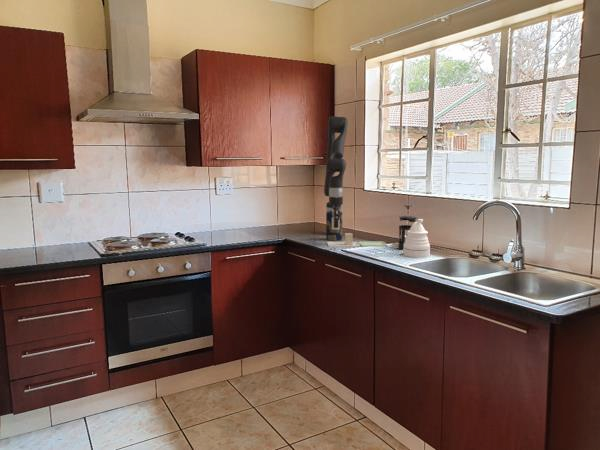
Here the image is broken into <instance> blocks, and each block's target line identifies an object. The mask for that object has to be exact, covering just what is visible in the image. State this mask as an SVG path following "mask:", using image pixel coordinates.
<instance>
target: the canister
mask: <svg viewBox="0 0 600 450" xmlns="http://www.w3.org/2000/svg"><path fill="white" fill-rule="evenodd" d="M325 215H326V216H325V220H326V222H325V224H326V225H325V228H326V229H325V232H326V233H325V235H326V237H325V239H326V240H328V241H330V242H339V241H342V240H343V212H342V210H341V211H340V212H339V218H340V229H332V218H333V217H332V210H331V211H328V212H327V213H326V214H325Z"/></svg>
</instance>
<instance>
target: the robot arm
mask: <svg viewBox="0 0 600 450" xmlns="http://www.w3.org/2000/svg"><path fill="white" fill-rule="evenodd" d="M348 125H349V124H348V118H347V117H344V116H330V117H329V118H328V122H327V147H326V148H327V150H326V158H325V159H326V163H325V179H324V186H323V193H324V195H325V197H328V202H326V209H325V210H326V211H325V212H326V213H327V212H328V211H331V210H332V217H333V218H334V228H338V221H339V212H340V211H341V212H342V205H343V204H344V201H343V200H344V191H343V189H344V188H343V184H344V181H343V180H344V175H345V171H346V169H347V168H346V167H347V162H346V160H345V159H344V150H345V149H344V148H345V141H346V138H347V137H346V136H347V133H348ZM334 133H335V134H339V135H338V136H337V137H336V138H335V135H334ZM336 173H338V175H335V174H336Z"/></svg>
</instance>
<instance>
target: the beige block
mask: <svg viewBox="0 0 600 450" xmlns="http://www.w3.org/2000/svg"><path fill="white" fill-rule="evenodd" d="M353 235H354V234H353V233H352V232H348V233H347V232H345V233H344V237H343V238H344V239H343V242H344V244H345V245H353V242H354V241H353V240H354V239H353Z"/></svg>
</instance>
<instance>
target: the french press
mask: <svg viewBox="0 0 600 450" xmlns="http://www.w3.org/2000/svg"><path fill="white" fill-rule="evenodd" d="M404 207H405V208H406V209H407V210H410V208H411V207H413V206H412V205H404ZM398 218H399V222H401V221H407V222H406V224H404V225H403V224H402V225H399V226H398V229H399V230H398V231H399V232H398V233H399V234H398V246H397V249H398V250H401V251H403V248H404V247H403V245H404V243H405V240H406V237H407V235H408V233H407V231H409V230H410V228H411V226H412V225H413V224H412V225H411V224H410V225H409V223H415V222H417V221H416V219H417V217H416V216H411V215H403V216H399V217H398Z"/></svg>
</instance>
